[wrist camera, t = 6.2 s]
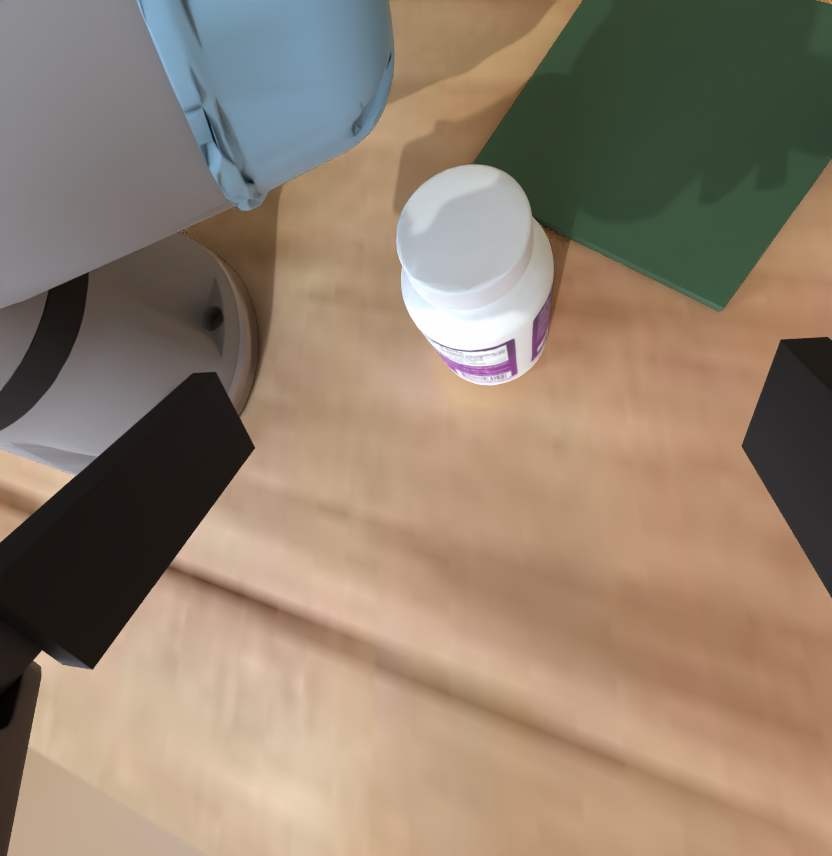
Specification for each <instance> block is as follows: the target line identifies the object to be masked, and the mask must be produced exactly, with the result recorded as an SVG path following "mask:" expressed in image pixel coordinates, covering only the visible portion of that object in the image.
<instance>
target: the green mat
mask: <svg viewBox="0 0 832 856" xmlns="http://www.w3.org/2000/svg"><path fill="white" fill-rule="evenodd" d="M831 159H832V5H831V4H828V3H824V2H820V1H816V0H583V1H582V3H581V4H580V5H579V7H578V8H577V10H576V11H575V13H574V14H573V16H572V17H571V19H570V20H569V22H568V23H567V25H566V26H565V28H564V29H563V31H562V32H561V34H560V35H559V37H558V38H557V40H556V41H555V43H554V44H553V46H552V47H551V49H550V50H549V52H548V53H547V55H546V56H545V58H544V59H543V60H542V62H541V63H540V65H539V66H538V68H537V69H536V71H535V72H534V74H533V75H532V77H531V78H530V80H529V81H528V83H527V84H526V86H525V87H524V89H523V90H522V92H521V93H520V95H519V96H518V98H517V99H516V101H515V102H514V104H513V105H512V107H511V108H510V110H509V111H508V112H507V114H506V115H505V117H504V118H503V120H502V121H501V123H500V124H499V126H498V127H497V129H496V130H495V132H494V133H493V135H492V136H491V138H490V139H489V141H488V142H487V144H486V145H485V147H484V148H483V150H482V151H481V153H480V154H479V156H478V157H477V159H476V160H475V162H474V163H473V164H479V165H487V166H491V167H494V168H497V169H499V170H502V171H504V172H505V173H507V174H509V175H510V176H511V177H512V178H514V179H515V180H516V182H517V183H518V184H519V185H520V186H521V188H522V189H523V191H524V192H525V194H526V196H527V198H528V201H529V204H530V208H531V213H532V217H534V219H535V220H536V221H537V222H538V223H540V224H542V225H544V226H546V227H548V228H550V229H552V230H554V231H556V232H558V233H560V234H562V235H564V236H566V237H569V238H571V239H573V240H575V241H577V242H579V243H581V244H583V245H585V246H587V247H589V248H591V249H593V250H595V251H597V252H599V253H601V254H603V255H605V256H607V257H609V258H611V259H613V260H615V261H618V262H620V263H622V264H624V265H626V266H628V267H630V268H632V269H634V270H636V271H638V272H640V273H642V274H644V275H646V276H648V277H650V278H652V279H654V280H656V281H658V282H660V283H662V284H664V285H666V286H669V287H671V288H673V289H675V290H677V291H679V292H681V293H683V294H685V295H687V296H689V297H691V298H693V299H695V300H697V301H699V302H701V303H703V304H705V305H707V306H709V307H711V308H713V309H715V310H717V311H722V310H723V309H724V308H725V306H726V305H727V303H728V302H729V301H730V299H731V298H732V296H733V295H734V294H735V292H736V291H737V290H738V288H739V287H740V285H741V284H742V283H743V281H744V280H745V278H746V277H747V276H748V274H749V273H750V271H751V270H752V269H753V267H754V266H755V264H756V263H757V262H758V260H759V259H760V257H761V256H762V255H763V253H764V252H765V251H766V249H767V248H768V246H769V245H770V244H771V242H772V241H773V239H774V238H775V237H776V235H777V234H778V232H779V231H780V230H781V228H782V227H783V225H784V224H785V223H786V221H787V220H788V218H789V217H790V216H791V214H792V213H793V212H794V210H795V209H796V207H797V206H798V205H799V203H800V202H801V200H802V199H803V198H804V196H805V195H806V193H807V192H808V191H809V189H810V188H811V186H812V185H813V184H814V182H815V181H816V179H817V178H818V177H819V175H820V174H821V173H822V171H823V170H824V168H825V167H826V166H827V164H828V163H829V161H830V160H831Z"/></svg>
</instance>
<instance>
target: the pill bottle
mask: <svg viewBox="0 0 832 856" xmlns="http://www.w3.org/2000/svg"><path fill="white" fill-rule="evenodd" d="M396 247H397V253H398V256H399V259H400V262H401V264H402V272H401V289H402V294H403V299H404V302H405V305H406V308H407V310H408V312H409V314H410V316H411V318H412V319H413V321H414V322H415V324H416V326H417V327H418V328H419V329H420V330H421V331H422V333H423V334H424V335H425V337H426V338H427V339H428V341H429V342H430V343H431V345H432V346H433V347H434V349H435V350H436V351H437V352H438V354H439V355H440V356H441V358H442V359H443V360H444V362H445V363H446V364H447V366H448V367H449V368H450V369H451V370H452V371H453V372H455V373H456V374H457V375H458V376H460V377H462V378H463V379H465V380H468V381H470V382H473V383H476V384H482V385H495V384H501V383H506V382H509V381H511V380H514V379H516V378H518V377H520V376H521V375H523V374H524V373H525V372H527V371H528V370H529V369H530V368H531V367H532V366H533V365H534V364H535V363H536V362H537V360H538V359H539V357H540V355H541V354H542V352H543V349H544V347H545V344H546V341H547V336H548V328H549V319H550V310H551V298H552V288H553V279H554V260H553V254H552V250H551V246H550V243H549V240H548V238H547V236H546V234H545V232H544V230H543V229H542V227H541V226H540V224H539V223H538V222H537V221H536V220H535V219H534V217H532V213H531V208H530V204H529V201H528V198H527V196H526V194H525V192H524V191H523V189H522V188H521V186H520V185H519V184H518V183H517V182H516V180H515V179H514V178H512V177H511V176H510V175H509V174H507V173H505V172H504V171H502V170H499V169H497V168H494V167H491V166H487V165H479V164H467V165H461V166H456V167H452V168H449V169H446V170H444V171H442V172H440V173H438V174H436V175H434V176H433V177H431V178H430V179H428V180H427V181H426V182H424V183H423V184H422V185H421V186H420V187H419V188H418V189H417V190H416V191H415V192H414V193H413V194H412V196H411V197H410V198H409V200H408V201H407V203H406V205H405V206H404V208H403V210H402V213H401V215H400V218H399V221H398V225H397V231H396Z"/></svg>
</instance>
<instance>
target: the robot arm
mask: <svg viewBox="0 0 832 856" xmlns="http://www.w3.org/2000/svg"><path fill="white" fill-rule="evenodd" d="M393 71H394V40H393V29H392V22H391V14H390V7H389V0H0V449H1V450H4V451H7V452H9V453H12V454H15V455H18V456H21V457H24V458H27V459H29V460H32V461H35V462H38V463H41V464H44V465H47V466H49V467H52V468H55V469H58V470H61V471H64V472H67V473H69V474H72V475H75V477H74V478H73V479H72V480H71V481H70V482H69V483H67V484H66V485H65V486H64V487H63V488H62V489H61V490H59V491H58V492H57V493H56V494H55V495H54V496H53V497H52V498H50V499H49V500H48V501H47V502H46V503H45V504H44V505H42V506H41V507H40V508H39V509H38V510H37V511H36V512H35V513H33V514H32V515H31V516H30V517H29V518H28V519H27V520H25V521H24V522H23V523H22V524H21V525H20V526H19V527H18V528H16V529H15V530H14V531H13V532H12V533H11V534H10V535H8V536H7V537H6V538H5V539H4V540H3V541H2V542H1V543H0V856H7V852H8V847H9V842H10V837H11V832H12V826H13V821H14V816H15V810H16V806H17V800H18V795H19V789H20V785H21V780H22V774H23V769H24V764H25V759H26V754H27V749H28V743H29V738H30V733H31V728H32V723H33V718H34V712H35V707H36V702H37V697H38V692H39V686H40V681H41V667H40V666H39V665H38V664H37V663H36V662H34V661H33V660H34V659H35V658H36V657H37V655H38V654H39V653H40V652H41V651H42V650H43V651H44V652H46V653H47V654H48V655H50V656H51V657H53V658H54V659H55V660H57V661H58V662H60V663H61V664H63V665H68V666H74V667H80V668H86V669H92V670H93V668H94V667H95V666H96V664H97V663H98V662H99V660H100V659H101V658H102V656H103V655H104V653H105V652H106V651H107V649H108V648H109V647H110V645H111V644H112V642H113V641H114V640H115V638H116V637H117V636H118V634H119V633H120V632H121V630H122V629H123V627H124V626H125V625H126V623H127V622H128V621H129V619H130V618H131V617H132V615H133V614H134V612H135V611H136V610H137V608H138V607H139V606H140V604H141V603H142V602H143V600H144V599H145V597H146V596H147V595H148V593H149V592H150V591H151V589H152V588H153V587H154V585H155V584H156V582H157V581H158V580H159V578H160V577H161V576H162V574H163V573H164V572H165V570H166V569H167V567H168V566H169V565H170V563H171V562H172V561H173V559H174V558H175V557H176V555H177V554H178V552H179V551H180V550H181V548H182V547H183V546H184V544H185V543H186V542H187V540H188V539H189V537H190V536H191V535H192V533H193V532H194V531H195V529H196V528H197V527H198V525H199V524H200V522H201V521H202V520H203V518H204V517H205V516H206V514H207V513H208V511H209V510H210V509H211V507H212V506H213V505H214V503H215V502H216V501H217V499H218V498H219V496H220V495H221V494H222V492H223V491H224V490H225V488H226V487H227V486H228V484H229V483H230V481H231V480H232V479H233V477H234V476H235V475H236V473H237V472H238V471H239V469H240V468H241V466H242V465H243V464H244V462H245V461H246V460H247V458H248V457H249V456H250V454H251V453H252V451H253V450H254V449H255V447H254V445H253V443H252V441H251V439H250V437H249V435H248V433H247V431H246V429H245V427H244V425H243V423H242V421H241V419H240V418H239V416H240V414H241V412H242V410H243V408H244V406H245V403H246V401H247V398H248V396H249V393H250V390H251V386H252V383H253V380H254V375H255V370H256V364H257V356H258V331H257V323H256V317H255V313H254V309H253V305H252V303H251V300H250V297H249V295H248V293H247V290H246V288H245V286H244V285H243V283H242V281H241V280H240V278H239V277H238V275H237V274H236V273H235V272H234V270H233V269H232V268H231V267H230V266H229V265H228V264H227V263H226V262H225V261H223V260H222V259H221V258H220V257H218V256H217V255H216V254H214V253H213V252H211V251H210V250H209V249H207V248H206V247H205V246H203V245H202V244H200V243H199V242H197V241H196V240H194V239H192V238H191V237H188V236H186V235H184V234H181V233H178V232H179V231H182V230H184V229H186V228H188V227H191V226H193V225H195V224H197V223H200V222H202V221H204V220H206V219H208V218H211V217H213V216H215V215H217V214H220V213H222V212H224V211H226V210H229V209H231V208H233V207H238V208H239V209H240V210H242V211H250V210H252V209H255V208H257V207H259V206H261V204H262V203H263V202H264V200H265V198H266V197H267V195H268V191H270V190H272V189H274V188H276V187H278V186H280V185H282V184H284V183H286V182H288V181H290V180H292V179H294V178H296V177H298V176H300V175H302V174H304V173H305V172H307V171H309V170H311V169H313V168H315V167H317V166H319V165H321V164H323V163H325V162H327V161H329V160H331V159H333V158H335V157H337V156H339V155H341V154H343V153H345V152H347V151H348V150H350V149H351V148H353V147H354V146H356V145H357V144H358V143H360V142H361V141H362V140H363V139H364V138H365V137H366V136H367V135H368V134H369V133H370V132H371V131H372V129H373V128H374V127H375V125H376V123H377V122H378V120H379V119H380V117H381V115H382V113H383V110H384V108H385V106H386V103H387V100H388V96H389V93H390V89H391V84H392V78H393ZM742 448H743V450H744V451H745V453H746V455H747V456H748V458H749V460H750V461H751V463H752V465H753V466H754V468H755V470H756V471H757V473H758V475H759V476H760V478H761V480H762V481H763V483H764V485H765V487H766V488H767V490H768V492H769V493H770V495H771V497H772V498H773V500H774V502H775V503H776V505H777V507H778V508H779V510H780V512H781V513H782V515H783V517H784V518H785V520H786V522H787V524H788V525H789V527H790V529H791V530H792V532H793V534H794V535H795V537H796V539H797V540H798V542H799V544H800V545H801V547H802V549H803V550H804V552H805V554H806V555H807V557H808V559H809V561H810V562H811V564H812V566H813V567H814V569H815V571H816V572H817V574H818V576H819V577H820V579H821V581H822V582H823V584H824V586H825V587H826V589H827V591H828V592H829V594H830V596H831V598H832V340H831V339H830V338H828V337H819V338H802V339H784V340H780V343H779V346H778V349H777V351H776V354H775V357H774V359H773V362H772V365H771V368H770V370H769V373H768V376H767V378H766V381H765V384H764V387H763V389H762V392H761V395H760V397H759V400H758V403H757V406H756V408H755V411H754V414H753V417H752V419H751V422H750V425H749V427H748V430H747V433H746V436H745V438H744V441H743V444H742Z"/></svg>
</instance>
